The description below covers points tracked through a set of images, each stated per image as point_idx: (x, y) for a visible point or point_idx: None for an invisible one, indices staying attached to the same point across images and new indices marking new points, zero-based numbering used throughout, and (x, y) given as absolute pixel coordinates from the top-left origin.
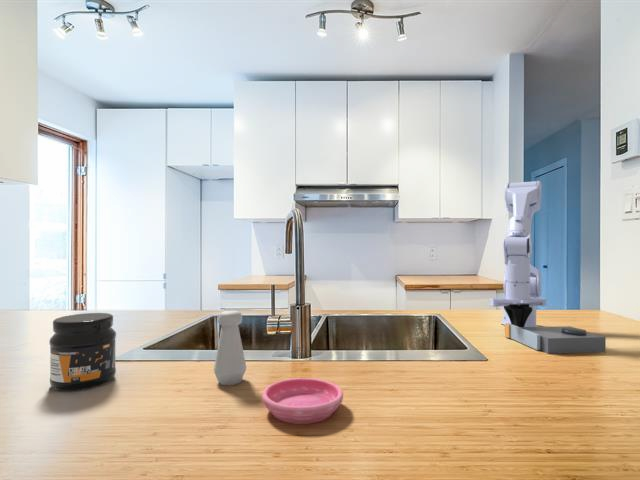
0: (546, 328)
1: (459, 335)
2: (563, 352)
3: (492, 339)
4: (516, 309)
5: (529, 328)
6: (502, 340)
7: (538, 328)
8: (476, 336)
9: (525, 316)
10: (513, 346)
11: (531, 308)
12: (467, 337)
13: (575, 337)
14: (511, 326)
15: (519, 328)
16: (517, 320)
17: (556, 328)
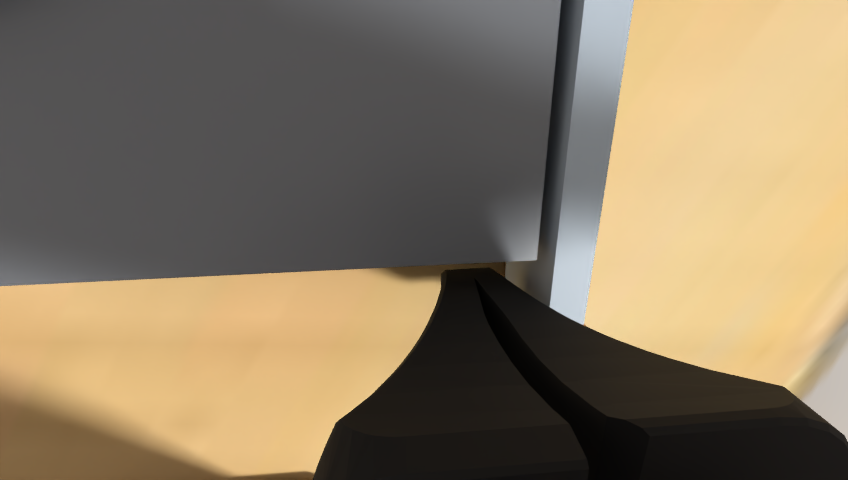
0: (207, 175)
1: (826, 371)
2: None
3: (680, 260)
4: (815, 419)
5: (444, 189)
6: (623, 228)
7: (322, 179)
8: (731, 345)
9: (460, 361)
10: (679, 11)
11: (362, 472)
12: (818, 320)
13: None
14: (577, 314)
15: (609, 154)
16: (568, 325)
17: (55, 170)
